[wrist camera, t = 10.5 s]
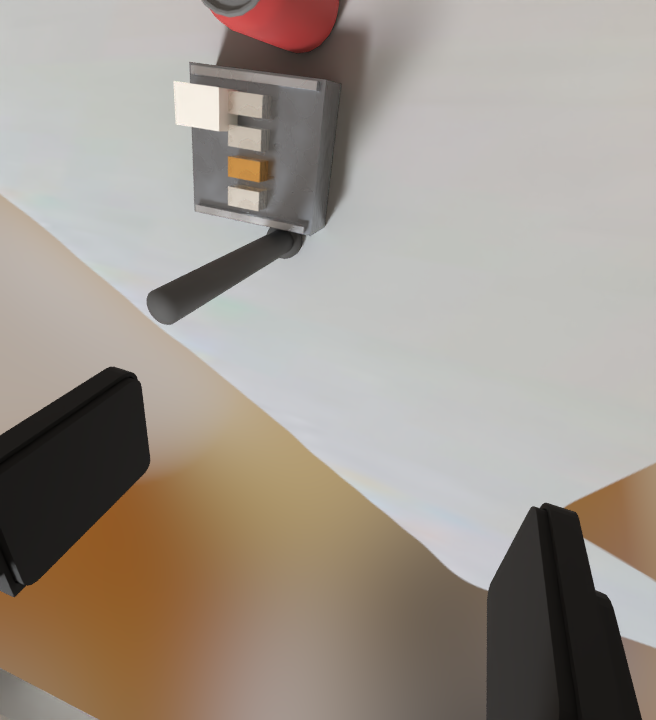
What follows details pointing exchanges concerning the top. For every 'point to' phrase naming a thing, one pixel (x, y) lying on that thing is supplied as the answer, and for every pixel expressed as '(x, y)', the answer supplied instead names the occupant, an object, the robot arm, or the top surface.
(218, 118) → the white block
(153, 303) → the post
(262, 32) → the beer can
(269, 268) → the top surface
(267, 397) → the top surface
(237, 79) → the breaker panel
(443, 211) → the top surface
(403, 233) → the top surface
